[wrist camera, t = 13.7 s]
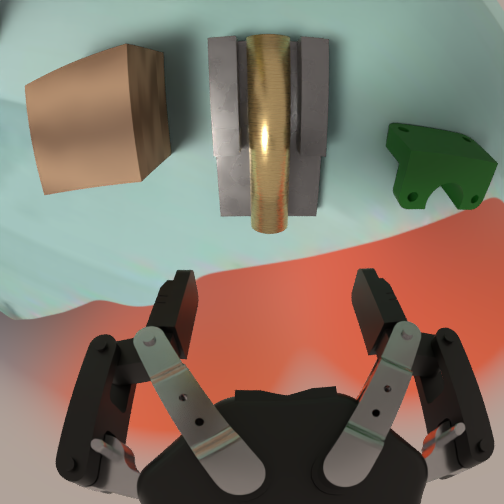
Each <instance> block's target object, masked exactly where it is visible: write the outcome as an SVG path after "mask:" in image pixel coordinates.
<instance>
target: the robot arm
mask: <svg viewBox="0 0 504 504" xmlns="http://www.w3.org/2000/svg"><path fill="white" fill-rule="evenodd" d="M352 304H353V307H354V310H355V313H356V316H357V320H358V323H359V326H360V329H361V332H362V335H363V339H364V341H365V345H366V348H367V352H368V355H375V354H376V355H377V358H378V359H377V361H376V363H375V364H374V367H373V369H372V371H371V372H370V375H369V376H368V378H367V380H366V382H365V384H364V386H363V388H362V390H361V391H360V393H359V395H358V396H357V398H356V399H355V398H352V397H350V396H348V395H345V394H341V393H337V391H336V386H333V387H322V388H311V389H308V390H305V391H301V392H298V393H295V394H291V395H281V394H275V393H270V392H265V391H261V390H235V397H230V398H227V399H224V400H222V401H220V402H218V403H216V404H214V405H213V403H212V402H211V401H210V399H209V398H208V397H207V395H206V394H205V392H204V391H203V390H202V388H201V387H200V385H199V384H198V382H197V381H196V379H195V378H194V377H193V375H192V374H191V372H190V371H189V369H188V368H187V367H186V365H185V364H183V363H182V362H181V360H180V359H187V355H188V349H189V345H190V340H191V335H192V331H193V326H194V321H195V316H196V312H197V307H198V292H197V287H196V281H195V276H194V272H193V270H177V272H176V274H175V277H174V280H167V281H166V282H165V283H164V284H163V285H162V286H161V288H160V290H159V293H158V297H157V298H156V301H155V303H154V306H153V309H152V311H151V314H150V317H149V320H148V323H147V325H146V327H145V328H143V329H141V330H139V331H138V332H137V333H136V335H135V337H134V338H132V339H127V340H121V341H116V340H115V339H114V338H113V337H112V336H111V335H107V334H104V335H99V336H97V337H96V338H94V339H93V340H92V342H91V343H90V345H89V347H88V350H87V353H86V356H85V358H84V361H83V364H82V366H81V370H80V372H79V375H78V378H77V381H76V384H75V387H74V390H73V394H72V397H71V400H70V404H69V407H68V411H67V414H66V418H65V422H64V425H63V429H62V434H61V438H60V442H59V447H58V451H57V456H56V468H57V470H58V472H59V474H60V475H61V476H62V477H63V478H64V479H66V480H68V481H70V482H73V483H76V484H77V485H79V486H82V487H85V488H88V489H91V490H94V491H100V492H103V493H107V494H109V493H110V494H111V493H116V494H120V495H123V496H127V497H132V498H136V499H139V500H140V502H141V504H420V503H421V498H422V494H423V491H424V488H425V485H426V483H427V482H430V481H433V480H435V479H438V478H439V479H447V478H449V477H452V476H454V475H457V474H459V473H461V472H463V471H465V470H468V469H470V468H472V467H474V466H476V465H478V464H480V463H482V462H484V461H486V460H487V459H488V458H489V457H490V456H491V455H492V453H493V450H494V438H493V434H492V430H491V426H490V422H489V418H488V415H487V412H486V408H485V405H484V402H483V398H482V395H481V392H480V390H479V386H478V384H477V381H476V378H475V375H474V373H473V370H472V368H471V365H470V362H469V360H468V357H467V355H466V353H465V350H464V348H463V346H462V343H461V341H460V339H459V337H458V335H457V334H456V333H455V332H454V331H453V330H451V329H449V328H441V329H439V330H438V331H437V333H436V335H432V334H427V333H421V332H420V330H419V328H418V327H417V326H416V325H415V324H413V323H411V322H408V321H407V319H406V317H405V315H404V313H403V310H402V308H401V306H400V304H399V302H398V300H397V298H396V296H395V294H394V292H393V290H392V288H391V286H390V284H389V283H388V282H386V281H385V280H384V279H383V278H379V277H378V275H377V273H376V271H375V270H374V269H373V268H370V269H369V268H367V269H359V270H358V272H357V275H356V279H355V283H354V286H353V290H352ZM412 375H413V376H414V378H415V382H416V386H417V389H418V393H419V397H420V401H421V406H422V410H423V414H424V419H425V423H426V428H427V433H428V435H427V436H426V437H425V439H424V441H423V447H422V454H421V453H420V452H419V451H417V450H416V449H415V448H414V447H412V446H411V445H410V444H409V443H408V442H406V441H405V440H404V439H403V438H402V437H400V436H399V435H398V434H397V433H395V432H394V431H393V430H392V429H391V426H392V423H393V421H394V419H395V417H396V414H397V412H398V410H399V408H400V405H401V403H402V400H403V398H404V395H405V393H406V390H407V388H408V385H409V382H410V380H411V377H412ZM148 381H151V382H152V384H153V386H154V388H155V390H156V392H157V393H158V395H159V397H160V399H161V401H162V402H163V404H164V406H165V408H166V409H167V411H168V413H169V415H170V416H171V418H172V420H173V421H174V423H175V424H176V426H177V428H178V429H179V431H180V432H181V434H182V435H181V436H180V437H179V438H177V439H176V440H175V441H174V442H173V443H172V444H171V445H170V446H169V447H168V448H166V449H165V450H164V451H163V452H162V453H161V454H160V455H158V457H156V458H155V459H154V460H153V461H151V462H150V463H149V464H148V465H147V466H146V467H145V468H144V469H143V470H142V471H141V473H140V472H139V471H138V470H137V468H136V465H135V457H134V454H133V452H132V450H131V449H130V448H129V447H128V446H126V445H125V444H126V437H127V431H128V425H129V419H130V414H131V409H132V403H133V398H134V393H135V389H136V384H137V383H142V382H148Z"/></svg>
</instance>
